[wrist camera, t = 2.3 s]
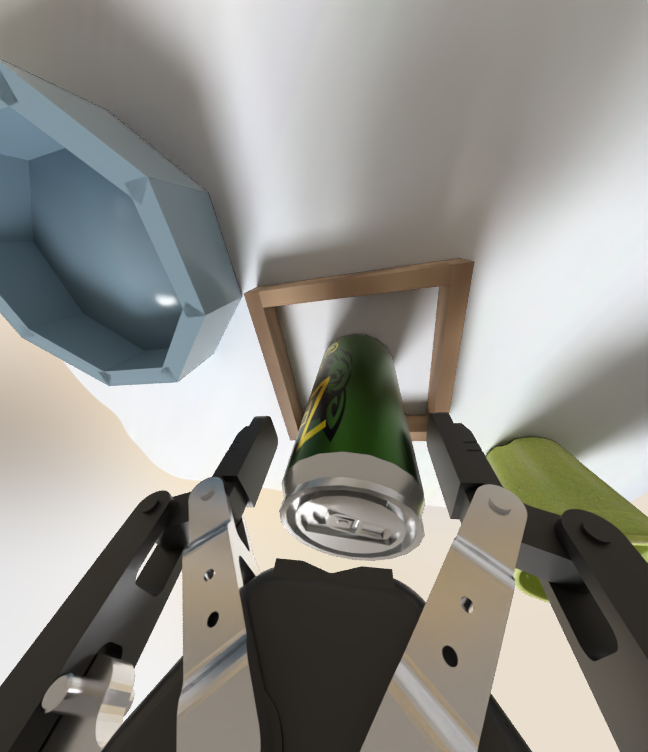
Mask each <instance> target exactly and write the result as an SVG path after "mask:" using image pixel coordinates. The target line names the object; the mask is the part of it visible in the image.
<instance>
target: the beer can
mask: <svg viewBox="0 0 648 752" xmlns="http://www.w3.org/2000/svg"><path fill="white" fill-rule="evenodd" d="M282 489H283V496H284V500H283V502H282V505H281V508H280V511H279V512H280V518H281V523H282V524H283V525H284V527H285V528H286V530H287V531H288V533H290V534H291V535H292V536H293V537H295V538H296V539H297V540H299V541H300V542H301V543H303V544H305V545H307V546H309V547H311V548H313V549H315V550H317V551H320V552H323V553H326V554H330V555H332V556H336V557H342V558H347V559H352V560H370V561H375V560H384V559H392V558H395V557H398V556H402V555H405V554H408V553H409V552H411V551H412V550H413V549H415V548H416V547H418V546H419V545H420V543H421V541H422V539H423V537H424V529H423V522H422V513H423V509H424V507H425V500H424V493H423V488H422V484H421V479H420V475H419V471H418V466H417V462H416V458H415V453H414V449H413V445H412V441H411V436H410V432H409V428H408V423H407V419H406V415H405V411H404V406H403V402H402V398H401V393H400V389H399V385H398V380H397V376H396V372H395V368H394V363H393V359H392V355H391V354H390V352H389V350H388V349H387V347H386V346H385V345H384V344H383V343H381V342H380V341H379V340H378V339H375V338H373V337H370V336H368V335H360V334H352V335H348V336H344V337H341V338H340V339H338V340H336V341H334V342H333V343H332V344H331V345H330V346H329V347H328V348H327V350H326V351H325V354H324V356H323V359H322V362H321V365H320V368H319V371H318V374H317V377H316V380H315V383H314V386H313V389H312V392H311V395H310V398H309V401H308V404H307V407H306V411H305V414H304V417H303V420H302V423H301V426H300V429H299V432H298V435H297V438H296V441H295V444H294V447H293V450H292V453H291V456H290V459H289V462H288V465H287V468H286V471H285V474H284V478H283V481H282Z"/></svg>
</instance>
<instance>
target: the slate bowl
mask: <svg viewBox="0 0 648 752" xmlns="http://www.w3.org/2000/svg"><path fill="white" fill-rule="evenodd" d="M241 297H242V296H241V293H240V289H239V286H238V283H237V280H236V277H235V274H234V271H233V268H232V265H231V262H230V259H229V255H228V252H227V249H226V246H225V243H224V240H223V237H222V234H221V231H220V228H219V225H218V221H217V218H216V215H215V212H214V209H213V206H212V203H211V200H210V197H209V194H208V192H207V191H205V190H204V189H203V188H202V187H200V186H199V185H198V184H197V183H195V182H194V181H193V180H192V179H191V178H189V177H188V176H187V175H186V174H184V173H183V172H182V171H181V170H179V169H178V168H177V167H176V166H175V165H173V164H172V163H171V162H170V161H168V160H167V159H166V158H165V157H164V156H162V155H161V154H160V153H159V152H157V151H156V150H155V149H154V148H152V147H151V146H150V145H149V144H148V143H146V142H145V141H144V140H143V139H141V138H140V137H139V136H138V135H136V134H135V133H134V132H133V131H132V130H130V129H129V128H128V127H127V126H125V125H124V124H123V123H122V122H120V121H119V120H118V119H117V118H116V117H114V116H113V115H112V114H111V113H109V112H108V111H107V110H105V109H103V108H101V107H99V106H97V105H95V104H93V103H91V102H89V101H87V100H85V99H82V98H80V97H78V96H76V95H74V94H72V93H70V92H68V91H66V90H64V89H62V88H60V87H58V86H56V85H53V84H51V83H49V82H47V81H45V80H43V79H41V78H39V77H37V76H35V75H33V74H31V73H29V72H27V71H24V70H22V69H20V68H18V67H16V66H14V65H12V64H10V63H8V62H6V61H4V60H2V59H0V313H1V314H2V315H3V316H4V318H5V319H6V320H7V321H8V322H9V323H10V324H11V326H12V327H13V328H14V329H15V330H16V331H17V332H18V333H19V335H20V336H21V337H22V338H24V339H25V340H27V341H29V342H31V343H33V344H35V345H36V346H38V347H40V348H42V349H44V350H45V351H47V352H49V353H51V354H53V355H54V356H56V357H58V358H60V359H62V360H63V361H65V362H67V363H69V364H71V365H72V366H74V367H76V368H78V369H80V370H81V371H83V372H85V373H87V374H89V375H90V376H92V377H94V378H96V379H98V380H99V381H101V382H103V383H105V384H107V385H108V386H117V385H135V384H153V383H172V382H178V381H180V380H181V379H182V378H183V377H185V376H186V375H187V374H188V373H190V372H191V371H192V370H193V369H195V368H196V367H197V366H198V365H200V364H201V363H202V362H204V361H205V360H206V359H207V358H209V357H210V356H211V355H212V354H214V351H215V349H216V347H217V345H218V343H219V341H220V339H221V337H222V335H223V333H224V331H225V329H226V327H227V325H228V323H229V321H230V319H231V317H232V315H233V313H234V311H235V309H236V307H237V305H238V303H239V301H240V299H241Z"/></svg>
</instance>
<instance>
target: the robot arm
mask: <svg viewBox="0 0 648 752" xmlns="http://www.w3.org/2000/svg"><path fill="white" fill-rule="evenodd" d="M426 441H427V447H428V451H429V454H430V457H431V460H432V463H433V466H434V469H435V472H436V475H437V478H438V482H439V485H440V488H441V491H442V494H443V497H444V500H445V503H446V506H447V509H448V512H449V515H450V518H451V519H460V521H461V527H460V529H459V532H458V534H457V536H456V538H455V539H454V541H453V543H452V545H451V547H450V550H449V552H448V554H447V556H446V558H445V561H444V563H443V565H442V568H441V570H440V572H439V575H438V577H437V579H436V582H435V584H434V586H433V588H432V590H431V593H430V595H429V598H428V600H427V602H425V601H424V600H423V599H422V598H421V597H420V596H419V595H418V594H417V593H416V592H415V591H413V590H412V589H411V588H410V587H408V586H407V585H405V584H403V583H402V582H400V581H398V580H396V579H394V578H393V575H392V574H393V573H392V569H382V568H372V567H357V568H353V569H349V570H344V571H340V572H336V573H328V572H326V571H324V570H322V569H319V568H317V567H315V566H313V565H311V564H308V563H306V562H304V561H299V560H298V561H297V560H288V559H278V558H277V559H276V562H275V566H274V568H271V569H269V570H266V571H264V572H262V573H260V570H259V567H258V565H257V562H256V560H255V557H254V554H253V551H252V547H251V543H250V539H249V535H248V531H247V527H246V523H245V520H244V516H243V512H244V510H245V507H255V504H256V501H257V499H258V496H259V494H260V491H261V489H262V486H263V483H264V481H265V478H266V475H267V473H268V470H269V467H270V465H271V462H272V459H273V457H274V454H275V451H276V449H277V445H278V438H277V434H276V431H275V428H274V425H273V423H272V420H271V418H270V417H269V416H257V417H254V418H253V420H252V422H251V424H250V425H249V426H246V427H245V428H243V429H242V430H241V431H240V432H239V433H238V434H237V436H236V438H235V439H234V441H233V443H232V444H231V446H230V448H229V450H228V451H227V453H226V454H225V456H224V458H223V459H222V461H221V463H220V464H219V466H218V468H217V469H216V471H215V473H214V474H213V476H212V477H210V478H207V479H205V480H203V481H201V482H200V483H199V484H198V485H196V487H195V488H194V489H193V490H192V492H189V493H185V494H181V495H178V496H175V497H172V496H171V495H170V494H169V492H167V491H158V492H155V493H153V494H151V495H149V496H148V497H146V498H145V499H144V500H142V501H141V502H140V503H139V504H138V506H137V507H136V508H135V510H134V511H133V512H132V513H131V515H130V516H129V517H128V519H127V520H126V521H125V523H124V524H123V525H122V527H121V528H120V529H119V531H118V532H117V533H116V535H115V536H114V537H113V538H112V540H111V541H110V542H109V544H108V545H107V546H106V548H105V549H104V550H103V552H102V553H101V554H100V556H99V557H98V558H97V560H96V561H95V562H94V564H93V565H92V566H91V568H90V569H89V570H88V571H87V573H86V574H85V575H84V577H83V578H82V579H81V581H80V582H79V583H78V585H77V586H76V587H75V589H74V590H73V591H72V593H71V594H70V595H69V596H68V598H67V599H66V601H65V602H64V603H63V604H62V606H61V607H60V608H59V610H58V611H57V612H56V614H55V615H54V616H53V618H52V619H51V620H50V622H49V623H48V624H47V626H46V627H45V628H44V629H43V631H42V632H41V633H40V635H39V636H38V637H37V639H36V640H35V642H34V643H33V644H32V645H31V647H30V648H29V649H28V651H27V652H26V653H25V655H24V656H23V657H22V659H21V660H20V661H19V663H18V664H17V665H16V667H15V668H14V669H13V670H12V672H11V673H10V674H9V676H8V677H7V678H6V680H5V681H4V682H3V684H2V685H1V686H0V752H532V751H531V750H530V748H529V747H528V745H527V744H526V742H525V741H524V740H523V738H522V737H521V735H520V734H519V733H518V731H517V730H516V728H515V727H514V725H513V724H512V723H511V721H510V720H509V718H508V717H507V716H506V714H505V713H504V711H503V710H502V708H501V707H500V706H499V704H498V703H497V701H496V700H495V698H494V697H493V696H492V694H491V689H492V684H493V680H494V676H495V671H496V667H497V663H498V658H499V654H500V650H501V645H502V641H503V636H504V632H505V627H506V624H507V619H508V615H509V611H510V606H511V602H512V598H513V593H514V588H515V578H514V570H515V568H517V569H519V570H522V571H524V572H527V573H529V574H531V575H534V576H536V577H538V578H539V580H540V583H541V585H542V587H543V589H544V591H545V593H546V595H547V597H548V600H549V602H550V604H551V606H552V608H553V610H554V612H555V614H556V617H557V619H558V621H559V623H560V625H561V627H562V629H563V631H564V634H565V636H566V638H567V640H568V642H569V644H570V646H571V648H572V651H573V653H574V655H575V657H576V659H577V661H578V663H579V665H580V668H581V670H582V672H583V674H584V676H585V678H586V680H587V682H588V685H589V687H590V689H591V691H592V693H593V695H594V697H595V699H596V701H597V704H598V706H599V708H600V710H601V712H602V714H603V716H604V718H605V721H606V722H607V725H608V727H609V729H610V731H611V733H612V735H613V738H614V740H615V742H616V744H617V746H618V748H619V750H620V752H648V563H647V562H646V560H645V559H644V558H643V557H642V556H641V554H640V553H639V552H638V551H637V550H636V548H635V547H634V546H633V545H632V543H631V542H630V541H629V540H628V539H627V537H626V536H625V535H624V534H623V533H622V532H621V531H620V530H619V529H618V528H617V527H615V526H614V525H613V524H612V523H610V522H609V521H607V520H606V519H604V518H602V517H600V516H598V515H596V514H594V513H591V512H589V511H585V510H581V509H569V510H566V511H565V512H564V513H563V514H562V515H558V514H555V513H551V512H548V511H545V510H541V509H538V508H535V507H532V506H529V505H527V504H525V503H523V502H522V501H521V500H520V499H519V498H518V497H517V496H516V495H515V494H513V493H512V492H510V491H509V490H507V489H505V488H504V487H503V486H502V484H501V483H500V481H499V479H498V477H497V476H496V474H495V472H494V470H493V469H492V467H491V465H490V463H489V462H488V460H487V458H486V456H485V455H484V453H483V452H482V449H481V448H480V446H479V444H478V443H477V441H476V439H475V437H474V435H473V434H472V432H471V431H470V430H469V429H468V428H466V427H465V426H464V425H463V424H462V423H453V421H452V419H451V417H450V415H449V413H448V412H433V413H429V417H428V426H427V434H426ZM154 543H157V544H158V545H157V546H156V548H155V550H154V552H153V553H152V555H151V557H150V558H149V560H148V561H147V563H146V565H145V566H144V568H143V570H142V571H141V573H140V575H139V577H138V578H137V580H136V575H137V572H138V570H139V568H140V567H141V565H142V563H143V562H144V560H145V558H146V557H147V555H148V553H149V552H150V550H151V548H152V547H153V545H154ZM181 570H182V574H183V656H182V657H181V658H180V659H179V661H178V662H177V663H176V664H175V665H174V666H173V667H172V668H171V670H170V671H169V672H168V673H167V674H166V675H165V676H164V677H163V679H162V680H161V681H160V682H159V683H158V684H157V685H156V687H155V688H154V689H153V690H152V691H151V692H150V693H149V694H148V695H147V697H146V698H145V699H144V700H143V701H142V702H141V704H140V705H139V706H138V707H137V708H136V709H135V710H134V711H133V712H132V713H131V715H130V716H129V717H128V718H127V719H126V720H125V721H124V723H123V724H122V722H123V717H124V716H125V715H126V713H127V712H128V711H129V709H130V707H131V705H132V702H133V699H134V690H133V686H134V680H135V673H134V668H135V666H136V664H137V662H138V660H139V658H140V655H141V654H142V651H143V649H144V647H145V645H146V643H147V641H148V639H149V636H150V634H151V633H152V631H153V628H154V626H155V624H156V622H157V620H158V618H159V616H160V614H161V612H162V610H163V607H164V606H165V603H166V601H167V599H168V597H169V595H170V593H171V591H172V589H173V587H174V585H175V583H176V580H177V578H178V576H179V574H180V572H181ZM135 580H136V582H135Z"/></svg>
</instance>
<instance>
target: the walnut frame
mask: <svg viewBox="0 0 648 752" xmlns="http://www.w3.org/2000/svg"><path fill="white" fill-rule="evenodd" d="M473 267H474V261H470V260H466V259H462V258H458V259H451V260H444V261H437V262H430V263H423V264H416V265H409V266H402V267H395V268H388V269H381V270H374V271H367V272H360V273H353V274H346V275H339V276H332V277H325V278H318V279H311V280H304V281H297V282H290V283H283V284H276V285H269V286H262V287H256V288H254V289H252V290H250V291H248V292H246V293H244V296H245V299H246V302H247V306H248V309H249V312H250V315H251V318H252V321H253V324H254V328H255V331H256V334H257V337H258V340H259V343H260V346H261V350H262V353H263V356H264V359H265V362H266V365H267V369H268V372H269V375H270V378H271V381H272V384H273V387H274V391H275V394H276V397H277V400H278V403H279V406H280V409H281V413H282V416H283V419H284V422H285V425H286V428H287V432H288V435H289V438H290V440H296V438H297V435H298V432H299V429H300V426H301V423H302V420H303V413H302V409H301V406H300V402H299V398H298V394H297V390H296V386H295V382H294V378H293V374H292V371H291V367H290V363H289V359H288V355H287V351H286V347H285V343H284V339H283V336H282V332H281V328H280V324H279V320H278V316H277V312H276V308H275V306H281V305H289V304H298V303H306V302H314V301H322V300H330V299H339V298H347V297H355V296H363V295H371V294H380V293H388V292H396V291H404V290H412V289H421V288H429V287H437V286H439V293H438V303H437V313H436V323H435V333H434V343H433V353H432V362H431V372H430V382H429V392H428V402H427V412H426V415H406V419H407V423H408V428H409V432H410V436H411V441H426V434H427V426H428V417H429V413H433V412H448V413H449V410H450V404H451V398H452V392H453V386H454V380H455V374H456V368H457V362H458V356H459V350H460V344H461V338H462V332H463V326H464V321H465V315H466V309H467V303H468V297H469V291H470V285H471V279H472V273H473Z"/></svg>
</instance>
